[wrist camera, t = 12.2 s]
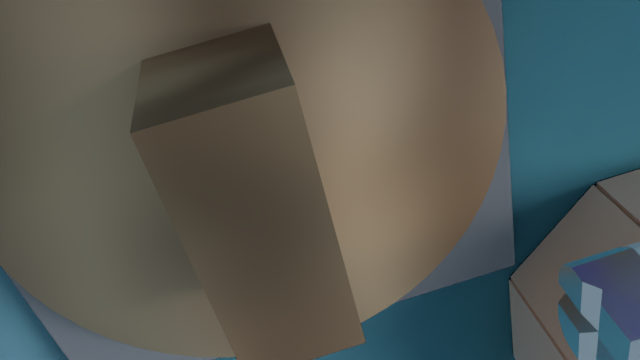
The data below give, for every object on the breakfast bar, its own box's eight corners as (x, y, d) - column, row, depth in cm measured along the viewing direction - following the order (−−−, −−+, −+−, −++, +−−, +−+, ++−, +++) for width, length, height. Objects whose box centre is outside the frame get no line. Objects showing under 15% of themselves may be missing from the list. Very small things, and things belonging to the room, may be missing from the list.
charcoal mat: (476, -259, 13) (488, -262, 12) (507, 254, 21) (515, 265, 20) (-220, -66, 12) (-237, -61, 12) (97, 382, 20) (95, 396, 20)
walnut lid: (469, -223, 12) (597, -236, 9) (502, 259, 20) (576, 364, 16) (-187, -40, 12) (-362, 33, 8) (106, 383, 20) (88, 521, 16)
